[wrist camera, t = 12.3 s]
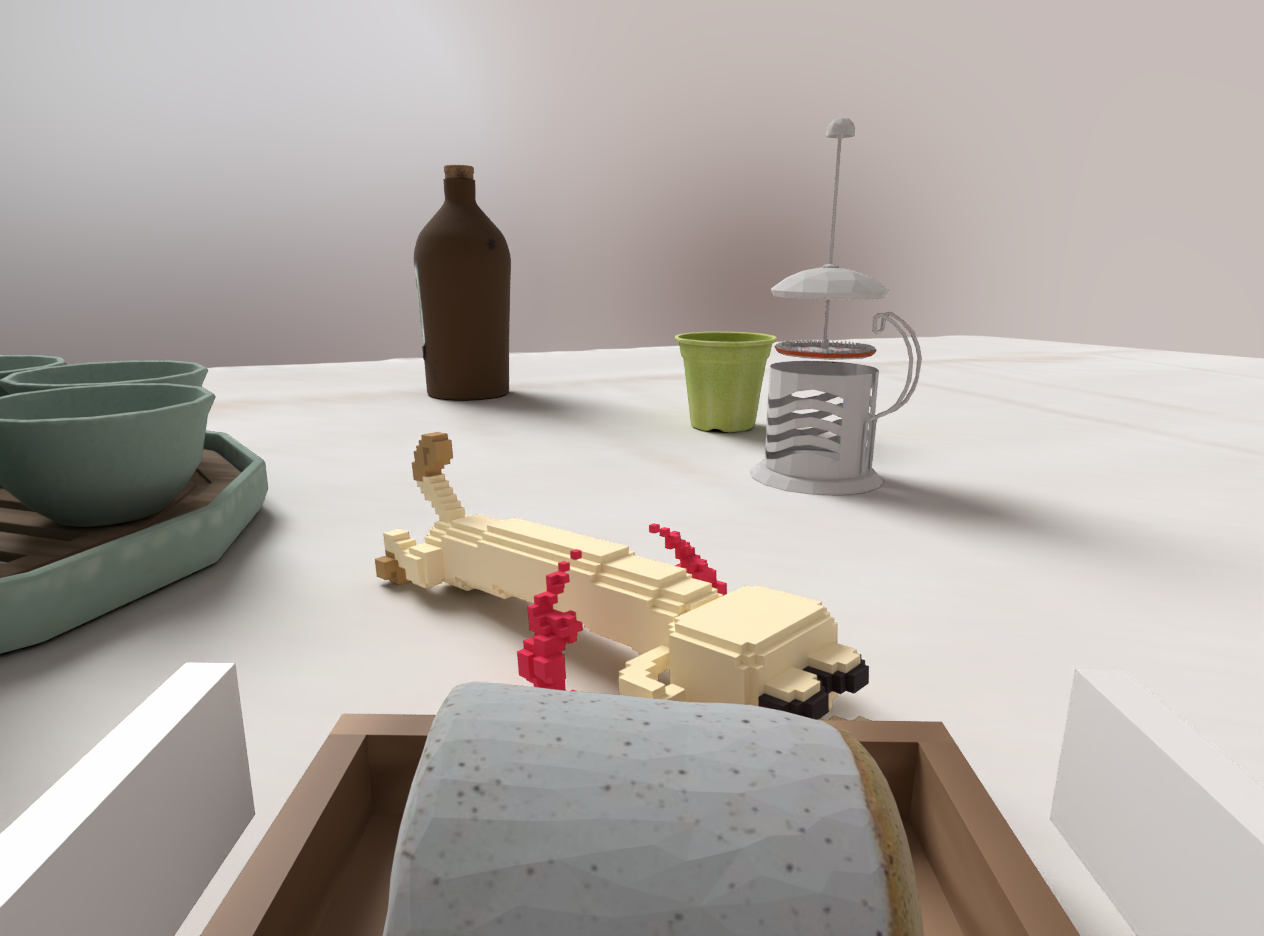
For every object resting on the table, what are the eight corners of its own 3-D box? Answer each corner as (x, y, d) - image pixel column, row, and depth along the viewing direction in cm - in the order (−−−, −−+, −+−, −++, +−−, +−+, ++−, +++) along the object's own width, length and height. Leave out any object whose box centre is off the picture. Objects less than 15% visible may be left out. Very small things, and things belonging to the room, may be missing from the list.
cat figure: (340, 623, 39) (763, 852, 21) (318, 446, 37) (758, 538, 20) (507, 569, 46) (930, 709, 28) (494, 418, 44) (937, 467, 26)
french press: (786, 453, 67) (805, 132, 60) (926, 477, 60) (965, 118, 54) (725, 478, 59) (740, 114, 53) (878, 509, 53) (917, 95, 46)
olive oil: (525, 387, 98) (519, 170, 91) (498, 403, 88) (490, 160, 81) (442, 384, 99) (431, 171, 93) (406, 399, 89) (391, 161, 83)
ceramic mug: (928, 1307, 12) (991, 869, 10) (377, 1315, 12) (337, 872, 10) (784, 827, 22) (801, 566, 20) (489, 828, 22) (479, 565, 20)
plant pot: (709, 441, 71) (712, 343, 69) (655, 422, 79) (656, 333, 77) (791, 431, 75) (797, 338, 73) (732, 414, 83) (736, 329, 81)
